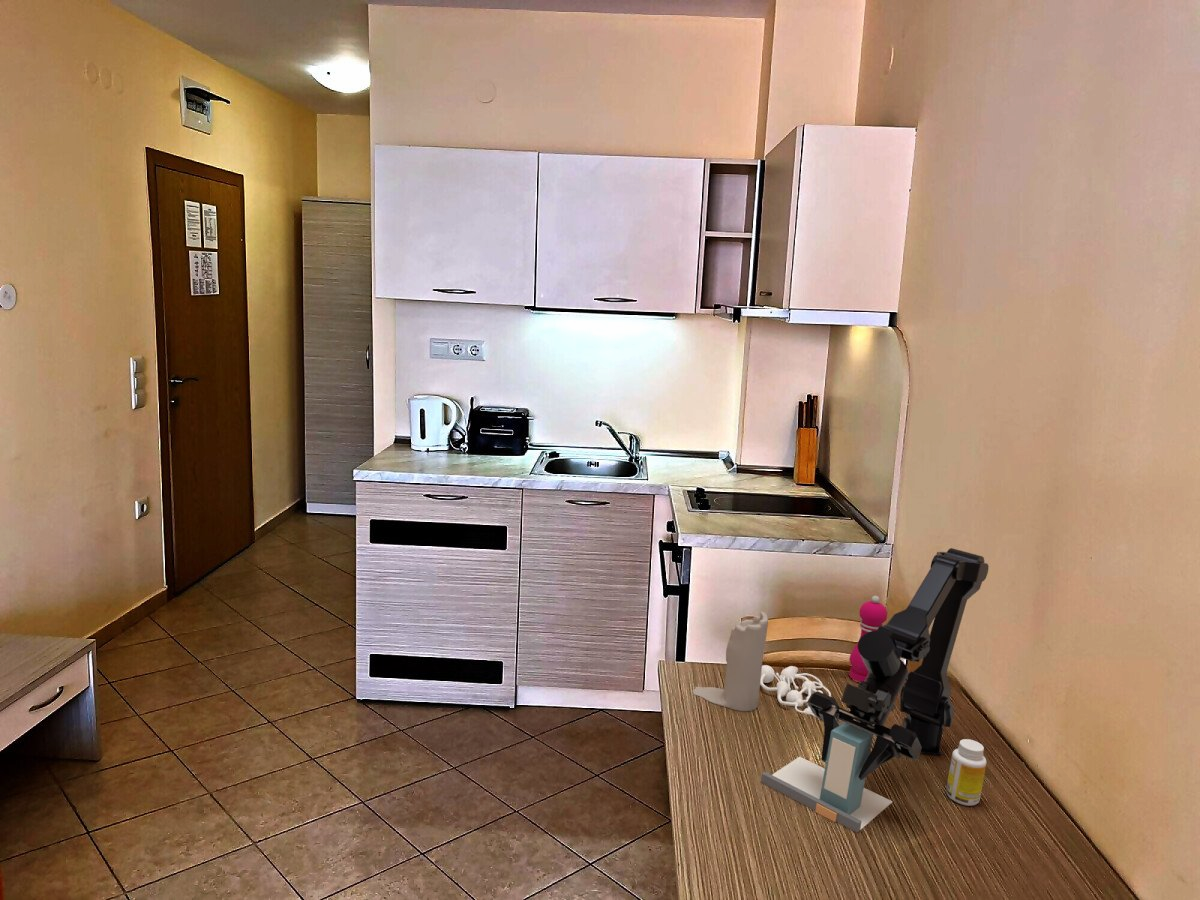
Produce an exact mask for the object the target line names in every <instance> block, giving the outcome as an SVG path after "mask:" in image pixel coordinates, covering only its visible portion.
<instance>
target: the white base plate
mask: <svg viewBox="0 0 1200 900" xmlns="http://www.w3.org/2000/svg"><path fill="white" fill-rule="evenodd" d="M824 771H825V767H822V766H820V765H818V764H816V763H814V762H812V761H810V760H807V759H805V758H803V757H801V756H798V757H797V758H795V759H794V760H792V761H791V762H789V763H788V764H786V765H784V766H782V768H780V769H778V770H777V771H775V772H774V773H772V774H771V773H769V772H766V771H764V772H763V773H762V774H761V778H760V779H761V781H760V783H761V784H763V785H765V786H767V787H769V788H771V789H773V790H775V791H777V792H778V793H781V794H783V795H784V796H787V798H790V799H792V800H794V801H796V802H797V803H800V804H802V805H804V806H805V807H807V808H809V809H811V810H813V811H815V810H816V804H817V803H818V804H820V805H822V806H824V807H825V808H827V809H829V810H831V811H833V812H835V813H837V818H836V822H835V823H838V824H839V825H842V826H844V827H845V828H847V829H850V830H851V831H853V832H855V833H859V832H860V831H861V830H862V829H863V828H865V826H867V825H868V824H869V823H870V822H872V820H873V819H875V818H876V817H877V816H879V814H881V812H883V811H884V810H885V809H886V808H888V806H890V805H891V804H892V803H893V801H892V800H890V799H888V798H886V797H884V796H882V795H880V794H877V793H876V792H874V791H872V790H870V789H867V788H865V787H864V789H863V794H862V800H861V805H860V807H859V808H858V809H857V810H855V811H854V812H853V813H851V814H850V815H849V814H847V813H845V812H843V811H841V810H839V809H837V808H835V807H833V806H831V805H829V804H828V803H826V802H824V801H822V800H820V794H821V788H822V782H823V777H824Z"/></svg>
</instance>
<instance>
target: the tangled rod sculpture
mask: <svg viewBox="0 0 1200 900" xmlns="http://www.w3.org/2000/svg"><path fill="white" fill-rule="evenodd" d="M798 672H799V668H798V667H797V666H793V665H790V666H787V667H786V668H783V669H782V671H781V673H780V674H779V672H775V670H774V669H773V667H771V666H770V665H767V664H762V671H761V680H760V687H761V688H762V689H764V690H765V691H768V692H776V694H777V701H778V703H779V704H781V705H783V706H789V707H794V709H795V711H796V712H797V713H801V714H806V715H810V716H812V717H814V718H816V719H819V718H818V717H816V716H815V715H814V713H813V712H812V710H811V708H810V707H809V705H808V703H807V701H808V700H809V698H810V696H811V694H813V693H815V692H817V691H818V692H821V693H823V694H824V692H823V691H822V690H820V689H822V688H823V690H825V692H827V693H828V694H827V695H828V696H830V697H832V693H831V691H830V690H829V689H828V688H827V686H825V685H824V684H823V682H822V681H821V680H820V679H819V677H817V676H815V675H813V674H810V673H798ZM806 676H808V677H811V678H812V679H815V680H816V681H811V680H810V679H809V678H808V677H806ZM774 678H776V680H777V681H778V682H777V683H776V687H768V686H767V685H765V684H764V683H767V684H768V683H771V682H772V681H773V680H774ZM795 679H800V680H803V681H804V682H803V683H802V685H801V690H800V691H798V690H799V686H797V685H796V683H795ZM791 684H793V686H794V689H791ZM817 689H819V690H817ZM803 693H804V694H806V695H807V696H806V698H805V699H803ZM783 697H785V700H786V701H783V700H782V698H783ZM804 704H805V705H806V708H804V709H803V710H800V709H798V708H801V707H802V706H803V705H804Z"/></svg>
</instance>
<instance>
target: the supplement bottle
mask: <svg viewBox="0 0 1200 900" xmlns="http://www.w3.org/2000/svg"><path fill="white" fill-rule="evenodd" d="M984 751H985V748H984V745H983V744H982V743H980V742H978V741H976V740H973V739H969V738H963V739H961V740H960V741H959V743H958V748H955V749H954V750H953V751H952V755H951V759H950V765H949V772H948V775H947V776H948V777H947V784H946V789H945V791H946V795H947V796H948V798H949V799H950V800H951V801H954V802H955V803H957V804H960V805H963V806H967V807H969V806H971V807H972V806H976V805H977V804H979V803H980V799H981V795H982V790H983V784H984V779H985V773H986V768H987V759H986V757H985V756H984Z"/></svg>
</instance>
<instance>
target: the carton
mask: <svg viewBox="0 0 1200 900" xmlns="http://www.w3.org/2000/svg"><path fill="white" fill-rule="evenodd" d="M873 738H874V734H871V733H869V732H867V731H865V730H862V729H860V728H858V727H855V726H853V725H851V724H848V723H846V722H843V723H842V724H841V725H840V724H839V726H838V727H837V728H835V729H833V730H832V731H831V736H830V742H829V747H828V753H827V759H826V761H825V767H824V769H825V771H824V777H823V782H822V788H821V794H820V800H822V801H824V802H826V803H828V804H829V805H831V806H833V807H835V808H837V809H839V810H841V811H843V812H845V813H847V814H849V815H850V814H851V813H853V812H854V811H855V810H857V809H858V808H859V807H860V805H861V800H862V794H863V789H864V788H865V782H866V777H865V778H864V779H863V780H860V779H859V774H860V771H861V769H862V767H863V765H864V763H865V762H866V760H867V758H868V756H869V754H870V753H871V751H872V743H873Z"/></svg>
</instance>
